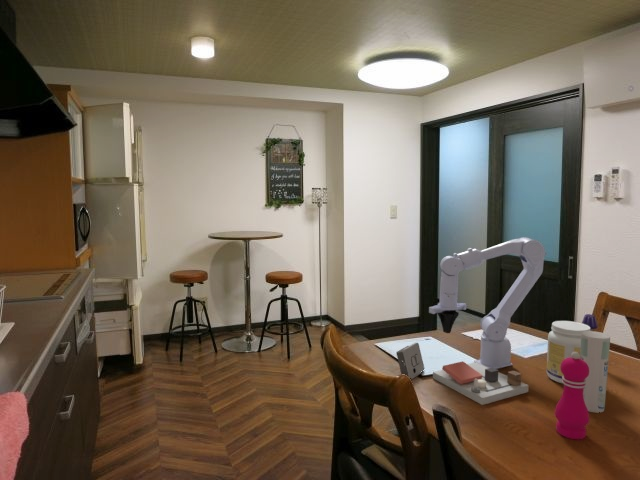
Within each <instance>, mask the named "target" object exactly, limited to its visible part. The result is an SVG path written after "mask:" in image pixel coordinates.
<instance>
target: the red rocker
mask: <svg viewBox="0 0 640 480" xmlns="http://www.w3.org/2000/svg"><path fill="white" fill-rule="evenodd" d="M467 364H468V363H466V362H465V361H458V362H454V363H450V364H445V365H442V368H441V370H444V371H445V372H446V373H448V374H449V375H450V376H451V377H453V378H454V379H455V380H456V381H458V382H459V383H460V384H463V383H467V382H471V381H474V379H475V378H476V379H482V375H481V374H480V373H478V372H477V371H476V370H474V369H473V368H472V367H470V366H469V365H467Z"/></svg>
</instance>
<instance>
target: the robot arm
mask: <svg viewBox="0 0 640 480" xmlns="http://www.w3.org/2000/svg"><path fill="white" fill-rule="evenodd" d="M509 254H510V255H514V256H518V257H519V258H520V260H521V263H522V264H521V265H522V266H523V269H522V271H521V272H520V274H519V275H518V277H517V278H516V279H515V280H514V282H513V284H512V285H511V287H510V288H509V289H508V291H507V292H506V293H505V295H504V297H502V299H501V301H500V302H499V303H498V305H497V306H496V307H495V308H494V309H492V310H491V311H490V312H489V313H488V314H487V315H485V316H484V317H482V318H481V320H480V323H479V324H480V325H479V326H480V329H481V330H482V331H483V332H482V334H481V336H480V356H479V359H476V360H474V362H473V363H475V362H477V363H479V364H482V365H484V366H486V367H488V368H494V369H497V370H499V369H502V368H506V367H511V366H513V363H512V362H511V355H512V353H511V352H512V344H511V342H510V339H508V338H507V337H506V335H507V331H508V328H509V327H510V325H511V318H512V317H513V315H514V314H515V312H516V311H517V310H518V308H519V306H520V305H521V304H522V302H523V300H525V298H526V296H527V295H528V294H529V293H530V291H531V290H532V288H533V287H534V285H535V283H537V282H538V279H539V278H540V277H541V275H543V271H544V261H545V260H544V259H545V256H546V254H547V253H546V251H545V248H544V245H543V243H541V242H540V241H539V240H536V239H532V238H530V237H527V236H522V237H520V238H514V239H513V238H512V239H510V240H508V241H505V242H502V243H499V244H498V243H497V245H493V246H491V247H488V248H485V249H482V250H480V249H477V248H472V247H469V248H467V250H465V251H463V252H459V253H457V252H454V253H453V256H452V255H447V256H444V257H443V258H442V259H441V260H440V263H439V267H440V269H441V273H440V280H439V283H440V284H439V302H438V304H436V305H433V306H429V307H428V313H429V314H432V315H437V316H438V317H439V320H440V322H441V327H442V332H443V333H445V334H451V331H452V329H453V326H454V323H455V321H456V320H457V318H458V317H459V315H460V314H459V312H458V311H459V310H460V311H461V310H463V311H465V310H467V303H465V302H458V294H459V273H460V272H461V271H467V270H470V269H474V268H476V267H481V266H482V264H483V263H484V262H485V261H486V260H490V259H493V258H494V259H495V258H498V257H502V256H505V255H509Z"/></svg>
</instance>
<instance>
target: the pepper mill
mask: <svg viewBox="0 0 640 480" xmlns="http://www.w3.org/2000/svg"><path fill="white" fill-rule="evenodd" d="M579 357H580V355H579V353H578V352H573V353H572V354H571V357H569V358H566V359H564V360H563V361H562V363H561V366H560V370H561V372H562V374H563V375H564V376H562V383H561V384H562V385H563V390H562V393H561V397H560V399H559V400H558V402H557V403H556V406H555V409H554V416H555V418H556V419H557V421H556V423H555V424H556V427H555V429H556V432H557V433H558V434H559V435H560V436H563V437H565V438H567V439H571V440H583V439H584V438H586V436H587V429H586V426H587V425H588V424H589V422H590V413H589V411H588V409H587V407H586V405H585V402H584V398H583V389H584V387H586V380H585V378H587V377H588V375H589V367H588V365H587V363H586V362H585V361H583V360H582V359H579Z"/></svg>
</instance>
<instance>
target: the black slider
mask: <svg viewBox="0 0 640 480" xmlns="http://www.w3.org/2000/svg"><path fill="white" fill-rule="evenodd" d="M498 372H499V369H494V368H488V369H485V380H487V381H489V382H491V383H492V382H495V381H498Z"/></svg>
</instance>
